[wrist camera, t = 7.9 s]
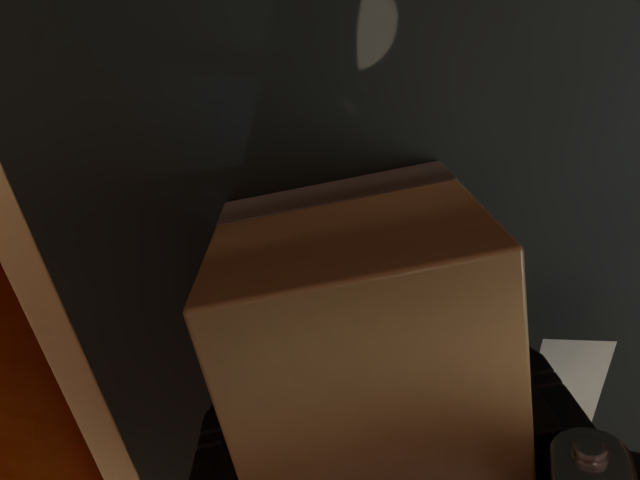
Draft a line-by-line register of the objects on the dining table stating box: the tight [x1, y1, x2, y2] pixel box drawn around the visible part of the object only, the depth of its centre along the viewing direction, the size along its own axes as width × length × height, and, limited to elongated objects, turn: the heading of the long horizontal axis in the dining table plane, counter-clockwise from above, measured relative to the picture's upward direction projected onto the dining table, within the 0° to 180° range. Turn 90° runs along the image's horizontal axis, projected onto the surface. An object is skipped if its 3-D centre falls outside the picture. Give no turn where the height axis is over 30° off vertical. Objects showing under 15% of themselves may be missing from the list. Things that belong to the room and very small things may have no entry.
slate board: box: [0, 0, 640, 480], centre depth 15 cm, size 24×18×1 cm
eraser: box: [183, 161, 536, 480], centre depth 12 cm, size 10×5×5 cm, turn 11°
